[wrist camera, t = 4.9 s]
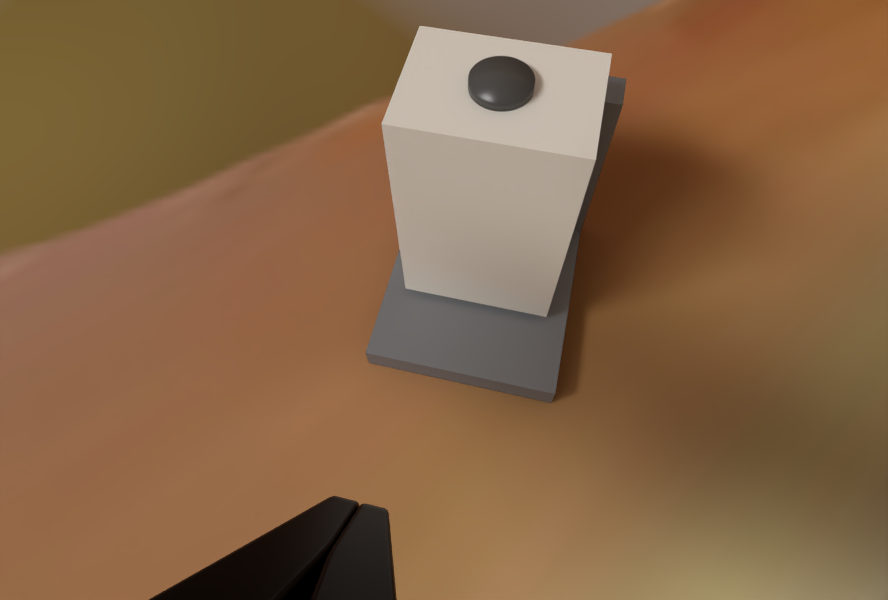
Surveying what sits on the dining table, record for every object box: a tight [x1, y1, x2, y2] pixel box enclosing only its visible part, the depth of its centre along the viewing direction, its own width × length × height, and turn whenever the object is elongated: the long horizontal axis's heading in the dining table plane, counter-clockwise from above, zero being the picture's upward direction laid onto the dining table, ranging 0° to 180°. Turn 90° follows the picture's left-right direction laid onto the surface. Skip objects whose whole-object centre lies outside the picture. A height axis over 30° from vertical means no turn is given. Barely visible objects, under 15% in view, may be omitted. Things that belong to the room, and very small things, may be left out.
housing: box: [366, 76, 626, 403], centre depth 21 cm, size 8×7×8 cm
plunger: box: [382, 26, 612, 317], centre depth 20 cm, size 4×6×9 cm
